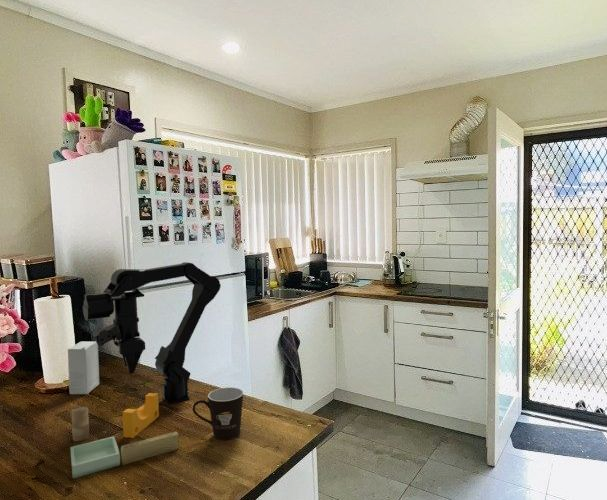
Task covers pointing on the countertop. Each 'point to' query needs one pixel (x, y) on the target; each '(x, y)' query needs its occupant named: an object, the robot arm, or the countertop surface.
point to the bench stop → (149, 447)
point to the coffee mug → (224, 412)
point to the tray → (94, 456)
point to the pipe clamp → (140, 416)
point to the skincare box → (83, 367)
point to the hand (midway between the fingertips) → (129, 369)
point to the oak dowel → (80, 424)
